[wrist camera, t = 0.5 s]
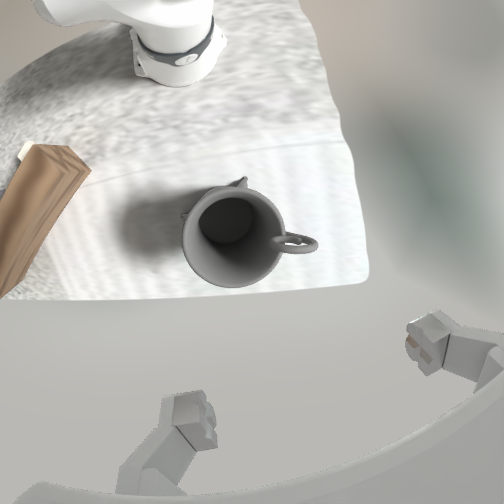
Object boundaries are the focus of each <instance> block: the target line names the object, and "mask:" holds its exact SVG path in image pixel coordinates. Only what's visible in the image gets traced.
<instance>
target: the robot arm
mask: <svg viewBox="0 0 504 504" xmlns="http://www.w3.org/2000/svg"><path fill="white" fill-rule="evenodd" d="M32 3H33V6H34V8H35V10H36V11H37V13H38V14H39V15H40V16H41V17H42V18H43V19H45V20H46V21H48V22H50V23H52V24H55V25H58V26H62V27H69V26H74V25H78V24H82V23H88V22H116V23H122V24H126V25H129V26H132V30H130V31H129V33H130V38H131V40H132V43H133V59H134V71H135V74H136V75H137V76H140V77H148V78H151V79H153V80H155V81H156V82H158V83H160V84H163V85H166V86H171V87H181V86H187V85H190V84H193V83H196V82H198V81H199V80H201V79H203V78H204V77H205V76H206V75H207V74H208V73H209V72H210V71H211V70H212V69H213V67H214V65H215V63H216V60H217V57H218V55H219V53H220V52H221V51H222V50H223V49H224V48H225V46H226V45H227V39H226V37H225V36H224V34H223V33H222V32H221V30H220V28H218V26H217V25H216V24H215V22H214V18H213V15H212V10H213V0H32ZM139 64H140V65H141V66H139ZM406 331H407V332H408V333H409V335H408V337H407V338H406V343H405V346H406V351H407V353H408V355H409V357H410V358H411V359H412V360H414V361H417V362H418V367H419V369H420V370H421V371H422V372H423V373H424V374H425V376H428V375H430V374H432V373H434V372H436V371H438V370H439V369H441V368H443V369H444V370H447V371H449V372H452V373H454V374H457V375H459V376H462V377H464V378H467V379H469V380H472V381H474V382H477V384H476V387H475V389H474V392H473V395H471V396H470V397H469V398H467V399H466V400H464V401H463V402H462V403H460V404H459V405H457V406H456V407H454V408H453V409H451V410H450V411H448V412H447V413H445V414H444V415H442V416H440V417H439V418H437V419H435V420H434V421H432V422H430V423H429V424H427V425H425V426H423V427H422V428H420V429H418V430H416V431H414V432H413V433H411V434H409V435H407V436H405V437H403V438H401V439H399V440H397V441H395V442H393V443H391V444H389V445H387V446H385V447H382V448H380V449H378V450H376V451H374V452H371V453H369V454H367V455H364V456H362V457H359V458H357V459H354V460H352V461H349V462H346V463H344V464H341V465H338V466H335V467H332V468H329V469H326V470H323V471H320V472H317V473H314V474H310V475H307V476H303V477H300V478H296V479H293V480H288V481H284V482H280V483H276V484H271V485H266V486H261V487H256V488H251V489H245V490H238V491H231V492H224V493H216V494H205V495H189V496H188V495H187V494H186V493H185V492H184V491H182V490H181V489H180V488H178V487H177V485H178V483H179V481H180V480H181V478H182V476H183V475H184V473H185V471H186V470H187V468H188V466H189V465H190V463H191V461H192V460H193V458H194V456H195V454H196V452H197V451H203V450H209V449H215V448H218V446H217V434H216V432H215V431H214V428H215V426H216V417H215V413H214V410H213V407H212V406H211V404H210V403H208V402H207V401H206V395H205V393H204V392H203V390H197V391H191V392H184V393H177V394H172V395H164V397H163V398H162V403H161V410H160V417H159V424H158V428H155V429H154V430H153V431H152V432H151V433H150V434H149V435H148V436H147V437H146V439H145V440H144V441H143V442H142V443H141V444H140V445H139V446H138V448H137V449H136V450H135V451H134V452H133V453H132V454H131V455H130V456H129V458H128V459H127V460H126V461H125V462H124V463H123V464H122V465H121V466H120V468H119V473H118V479H117V485H116V491H115V494H110V493H102V492H94V491H88V490H82V489H76V488H71V487H66V486H61V485H57V484H53V483H49V482H38V483H36V484H35V485H33V486H32V487H30V488H29V489H28V490H27V491H26V492H24V493H23V494H22V495H21V496H19V497H18V498H17V499H16V500H15V502H14V504H504V333H499V332H493V331H488V330H483V329H477V328H472V327H467V326H463V327H461V326H460V325H458V324H457V323H456V322H455V321H454V320H452V319H451V318H450V317H449V316H447V315H446V314H445V313H444V312H442V311H441V310H440V309H435V310H433V311H432V312H429V313H428V314H426V315H424V316H422V317H420V318H418V319H415V320H413V321H411V322H409V323H408V325H407V330H406Z"/></svg>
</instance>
